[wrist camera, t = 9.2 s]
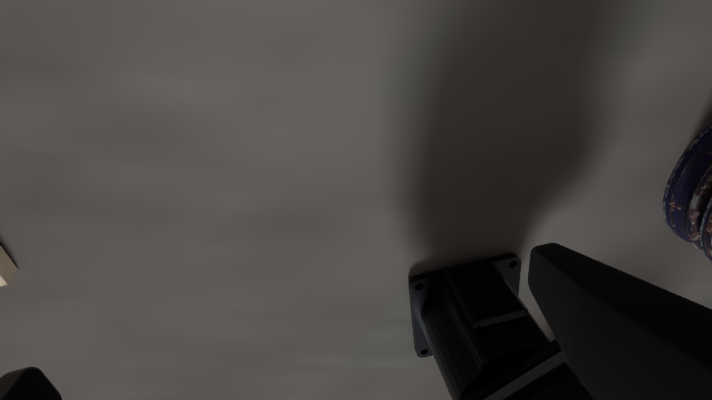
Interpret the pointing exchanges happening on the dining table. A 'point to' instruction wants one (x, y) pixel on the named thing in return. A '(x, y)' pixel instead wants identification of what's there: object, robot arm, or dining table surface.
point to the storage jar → (692, 195)
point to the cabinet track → (6, 268)
